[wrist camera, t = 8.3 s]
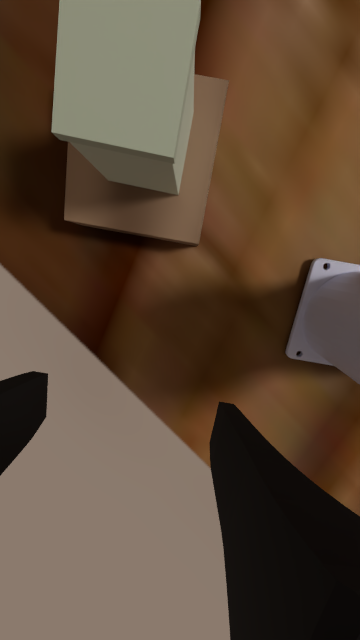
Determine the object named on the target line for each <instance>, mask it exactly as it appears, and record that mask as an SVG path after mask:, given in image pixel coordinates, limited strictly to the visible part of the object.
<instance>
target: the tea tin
mask: <svg viewBox="0 0 360 640" xmlns="http://www.w3.org/2000/svg"><path fill="white" fill-rule="evenodd" d="M200 7H201V0H60V3H59V19H58V35H57V51H56V67H55V83H54V99H53V115H52V131H51V132H52V133H53V134H54V135H55V136H56V137H57V138H58V139H59V140H63V141H68V142H70V143H71V144H72V145H73V146H74V147H75V148H76V149H77V150H78V151H79V152H80V153H81V154H82V155H83V156H84V157H85V158H86V159H87V160H88V161H89V162H90V163H91V164H92V165H93V166H94V167H95V168H96V169H97V170H98V171H99V172H100V173H101V174H102V175H103V176H104V177H105V178H106V179H107V180H108V181H113V182H118V183H123V184H128V185H132V186H137V187H142V188H147V189H151V190H156V191H161V192H166V193H171V194H175V195H179V189H180V184H181V179H182V173H183V168H184V162H185V157H186V151H187V146H188V140H189V135H190V129H191V124H192V118H193V113H194V60H195V44H196V38H197V33H198V27H199V21H200Z"/></svg>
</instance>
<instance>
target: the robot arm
mask: <svg viewBox="0 0 360 640" xmlns="http://www.w3.org/2000/svg"><path fill="white" fill-rule="evenodd" d="M325 263H327V268H326V269H324V268H323V265H324V264H325ZM298 351H301V353H300V354H299V355H296V353H297V352H298ZM285 353H286V355H287V356H288V357H289V358H292V359H298V360H303V361H309V362H315V363H321V364H326V365H332V366H335V367H336V368H338V369H339V370H341V371H342V372H343V373H345V374H346V375H348V376H349V377H350V378H352V379H353V380H354V381H356V382H357V383H359V384H360V265H357V264H352V263H346V262H340V261H334V260H329V259H323V258H317V259H314V260H313V261H312V263H311V266H310V269H309V273H308V276H307V280H306V283H305V286H304V290H303V293H302V297H301V300H300V303H299V307H298V310H297V313H296V317H295V320H294V324H293V327H292V330H291V334H290V337H289V341H288V344H287V347H286V352H285ZM47 385H48V374H46V373H40V372H35V371H32V372H28V373H24V374H21V375H18V376H14V377H11V378H8V379H5V380H2V381H0V475H1V474H2V473H3V472H4V470H5V469H6V468H7V467H8V466H9V465H10V464H11V463H12V461H13V460H14V459H15V458H16V457H17V456H18V454H19V453H20V452H21V451H22V450H23V448H24V447H25V446H26V445H27V444H28V442H29V441H30V440H31V439H32V437H33V436H34V434H35V433H36V432H37V430H38V428H39V427H40V425H41V424H42V422H43V421H44V419H45V418H46V408H47ZM210 462H211V472H212V478H213V484H214V490H215V496H216V502H217V508H218V514H219V520H220V525H221V532H222V540H223V546H224V558H225V571H226V582H227V596H228V608H229V609H228V610H229V623H230V639H231V640H360V516H358V515H357V514H355V513H354V512H352V511H351V510H350V509H348V508H347V507H345V506H344V505H343V504H341V503H340V502H339V501H337V500H336V499H334V498H333V497H332V496H330V495H329V494H328V493H326V492H325V491H324V490H322V489H321V488H320V487H319V486H317V485H316V484H315V483H313V482H312V481H311V480H310V479H309V478H307V477H306V476H305V475H304V474H303V473H302V472H300V471H299V470H298V469H297V468H296V467H294V466H293V465H292V464H291V463H290V462H289V461H288V460H287V459H286V458H285V457H284V456H282V455H281V454H280V453H279V452H278V451H277V450H276V449H275V448H274V447H273V446H272V445H271V444H270V443H269V442H268V441H267V440H266V439H265V438H264V437H263V436H262V435H261V433H260V432H259V431H258V430H257V429H256V428H255V427H254V426H253V425H252V424H251V422H250V421H249V420H248V419H247V418H246V417H245V416H244V415H243V414H242V412H241V411H240V410H239V409H238V408H237V407H236V406H235V405H234V404H230V403H224V402H219V405H218V409H217V413H216V418H215V422H214V426H213V430H212V435H211V439H210Z"/></svg>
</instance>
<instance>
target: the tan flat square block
mask: <svg viewBox="0 0 360 640" xmlns="http://www.w3.org/2000/svg"><path fill="white" fill-rule="evenodd" d="M228 83H229V80H223V79H218V78H212V77H207V76H201V75H196V74H194V113H193V118H192V124H191V129H190V135H189V140H188V146H187V151H186V157H185V162H184V168H183V173H182V179H181V184H180V189H179V195H175V194H171V193H166V192H161V191H156V190H151V189H147V188H142V187H137V186H132V185H128V184H123V183H118V182H113V181H108V180H107V179H106V178H105V177H104V176H103V175H102V174H101V173H100V172H99V171H98V170H97V169H96V168H95V167H94V166H93V165H92V164H91V163H90V162H89V161H88V160H87V159H86V158H85V157H84V156H83V155H82V154H81V153H80V152H79V151H78V150H77V149H76V148H75V147H74V146H73V145H72V144H71V143H70V142H68V152H67V171H66V190H65V210H64V220H66V221H69V222H73V223H76V224H79V225H83V226H88V227H94V228H99V229H105V230H110V231H116V232H121V233H127V234H132V235H138V236H144V237H149V238H155V239H160V240H166V241H171V242H177V243H182V244H188V245H194V246H198V245H199V240H200V235H201V229H202V224H203V218H204V213H205V208H206V202H207V197H208V191H209V186H210V181H211V175H212V170H213V164H214V159H215V153H216V148H217V143H218V137H219V132H220V126H221V121H222V116H223V110H224V105H225V99H226V94H227V89H228Z"/></svg>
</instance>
